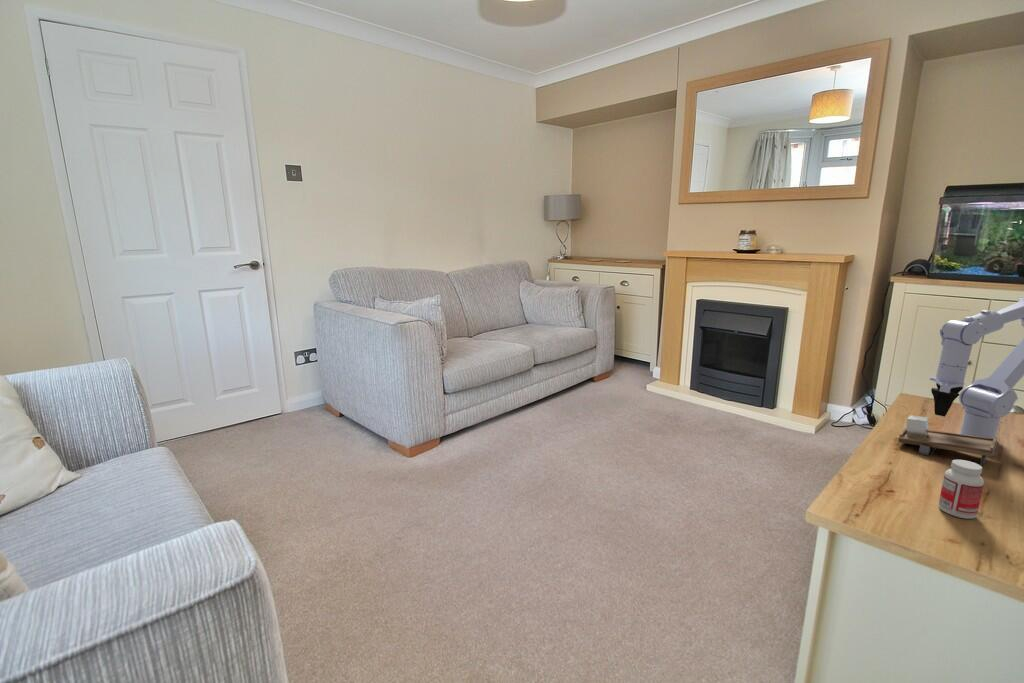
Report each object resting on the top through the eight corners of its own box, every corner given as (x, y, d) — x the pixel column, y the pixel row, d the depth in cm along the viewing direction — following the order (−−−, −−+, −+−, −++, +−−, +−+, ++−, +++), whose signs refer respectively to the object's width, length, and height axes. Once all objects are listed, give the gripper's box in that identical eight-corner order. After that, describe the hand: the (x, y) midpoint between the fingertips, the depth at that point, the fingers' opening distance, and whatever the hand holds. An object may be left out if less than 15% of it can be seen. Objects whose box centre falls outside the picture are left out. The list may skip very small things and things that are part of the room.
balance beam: (907, 431, 141) (907, 425, 141) (997, 444, 127) (997, 436, 127) (898, 442, 134) (898, 435, 134) (992, 456, 120) (992, 448, 120)
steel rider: (910, 432, 138) (910, 415, 137) (928, 434, 135) (928, 417, 134) (906, 436, 135) (906, 418, 134) (925, 438, 132) (925, 421, 131)
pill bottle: (980, 513, 103) (991, 466, 100) (971, 523, 99) (982, 474, 97) (943, 500, 108) (953, 455, 105) (933, 509, 104) (943, 462, 102)
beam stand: (909, 436, 142) (911, 426, 141) (987, 455, 130) (989, 445, 129) (898, 449, 133) (900, 439, 132) (980, 471, 121) (983, 460, 120)
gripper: (937, 357, 138) (927, 402, 141) (929, 365, 129) (919, 413, 132) (970, 363, 133) (959, 409, 136) (965, 371, 124) (953, 421, 127)
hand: (941, 412), depth 134 cm, fingers open, 7 cm apart
